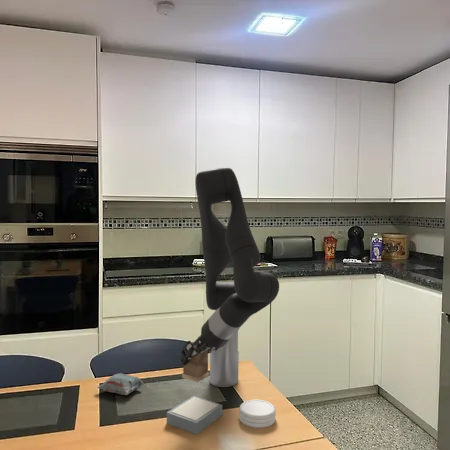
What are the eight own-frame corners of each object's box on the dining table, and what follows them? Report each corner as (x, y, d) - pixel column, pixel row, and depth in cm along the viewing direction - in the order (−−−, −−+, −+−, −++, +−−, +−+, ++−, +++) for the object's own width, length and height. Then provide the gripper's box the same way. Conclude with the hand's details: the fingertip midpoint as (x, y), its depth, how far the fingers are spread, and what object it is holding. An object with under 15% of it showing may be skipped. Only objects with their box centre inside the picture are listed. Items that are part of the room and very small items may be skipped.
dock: (193, 405, 124) (193, 395, 124) (222, 415, 119) (222, 404, 119) (166, 423, 114) (166, 411, 114) (196, 434, 109) (196, 422, 109)
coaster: (245, 431, 111) (245, 418, 111) (234, 412, 121) (235, 400, 121) (281, 426, 114) (281, 413, 113) (268, 408, 123) (268, 397, 123)
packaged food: (127, 401, 127) (127, 385, 126) (96, 393, 132) (96, 377, 131) (144, 390, 134) (145, 375, 134) (115, 383, 139) (115, 368, 139)
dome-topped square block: (193, 371, 119) (193, 339, 119) (208, 375, 116) (209, 342, 116) (182, 377, 115) (182, 344, 115) (197, 382, 112) (197, 347, 112)
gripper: (234, 309, 115) (204, 342, 124) (193, 318, 105) (164, 354, 113) (248, 332, 111) (216, 365, 120) (208, 344, 101) (176, 379, 110)
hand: (191, 359), depth 117 cm, fingers closed on dome-topped square block, 5 cm apart
